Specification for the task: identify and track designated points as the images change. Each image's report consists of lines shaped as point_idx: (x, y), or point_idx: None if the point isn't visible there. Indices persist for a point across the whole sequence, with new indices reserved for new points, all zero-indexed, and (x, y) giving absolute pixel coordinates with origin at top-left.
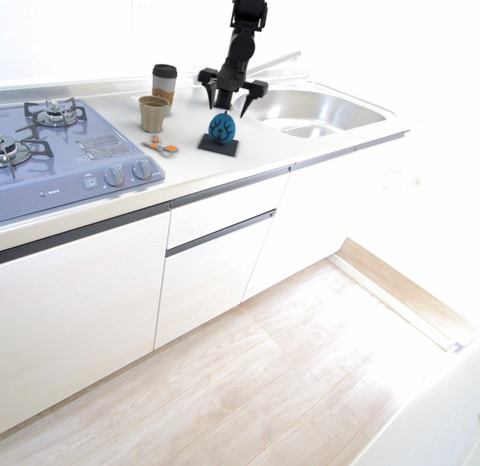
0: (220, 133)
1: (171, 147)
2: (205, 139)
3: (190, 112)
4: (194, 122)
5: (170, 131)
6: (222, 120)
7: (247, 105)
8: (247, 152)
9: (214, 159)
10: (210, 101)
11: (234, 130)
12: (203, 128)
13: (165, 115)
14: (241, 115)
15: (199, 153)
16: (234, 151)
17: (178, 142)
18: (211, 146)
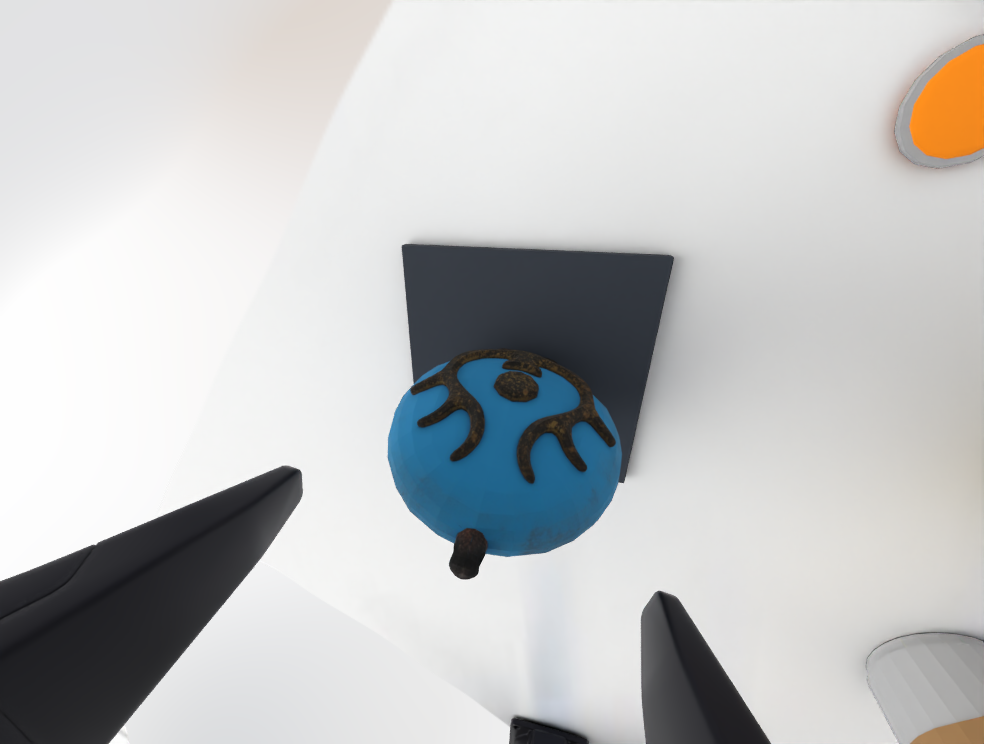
0: (511, 371)
1: (977, 109)
2: (617, 399)
3: None
4: (690, 598)
5: (897, 454)
6: (499, 460)
7: (18, 586)
8: (352, 342)
9: (529, 122)
10: (729, 724)
11: (398, 408)
12: (632, 545)
13: (911, 644)
14: (260, 482)
15: (658, 171)
16: (413, 302)
17: (846, 295)
18: (569, 310)
